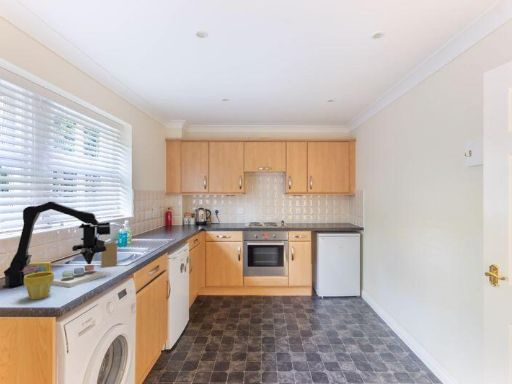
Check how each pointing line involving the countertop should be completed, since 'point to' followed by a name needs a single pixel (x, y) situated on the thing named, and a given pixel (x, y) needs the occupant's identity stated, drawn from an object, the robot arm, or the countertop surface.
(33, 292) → the plant pot
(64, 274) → the sage button
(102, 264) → the sandwich container
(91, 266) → the terracotta button
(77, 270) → the slate button
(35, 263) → the candy box
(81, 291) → the countertop surface
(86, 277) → the button board
